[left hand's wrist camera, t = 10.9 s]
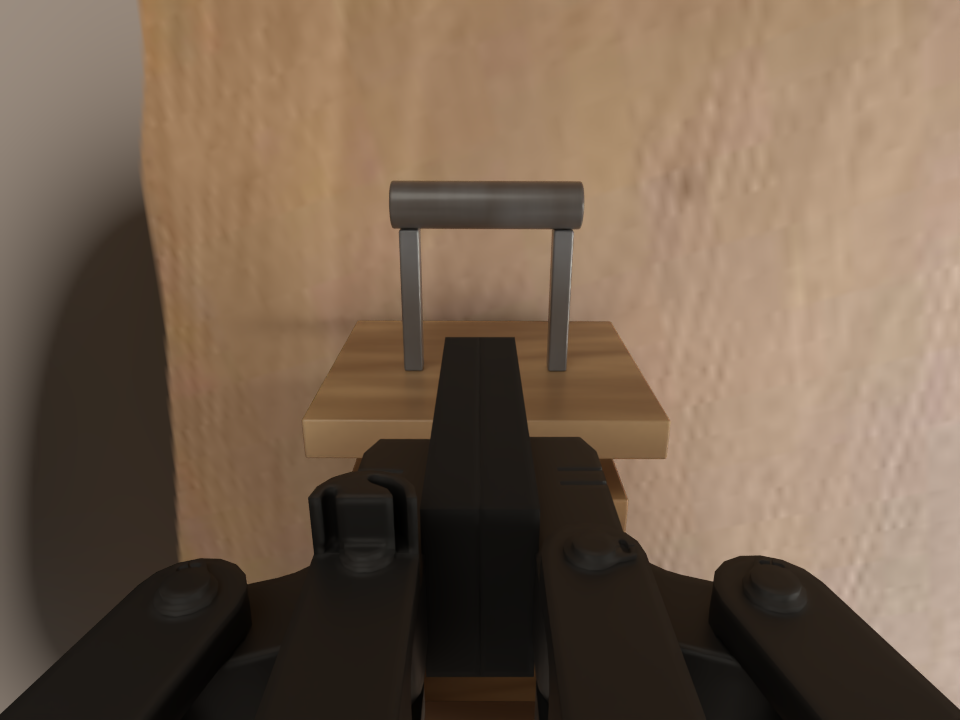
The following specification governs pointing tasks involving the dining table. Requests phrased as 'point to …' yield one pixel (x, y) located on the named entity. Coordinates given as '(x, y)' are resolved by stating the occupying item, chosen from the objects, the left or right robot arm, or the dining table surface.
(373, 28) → the dining table surface
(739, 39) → the dining table surface
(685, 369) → the dining table surface
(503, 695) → the drawer
